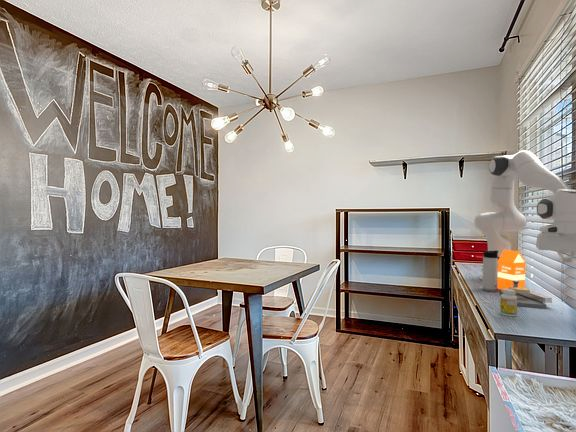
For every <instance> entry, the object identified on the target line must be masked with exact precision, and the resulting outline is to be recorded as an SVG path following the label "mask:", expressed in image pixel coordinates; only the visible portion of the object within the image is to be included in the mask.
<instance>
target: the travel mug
mask: <svg viewBox="0 0 576 432" xmlns="http://www.w3.org/2000/svg"><path fill="white" fill-rule="evenodd" d="M498 252H499V251H488V250H485V251H483V253H482V255H483V257H482V267H483V271H482V274H483V280H482V290H483V291H485V292H492V293H493V292H494V293H495V292H497V291H498V282H497V268H498Z"/></svg>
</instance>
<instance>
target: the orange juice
mask: <svg viewBox="0 0 576 432" xmlns="http://www.w3.org/2000/svg"><path fill="white" fill-rule="evenodd" d="M512 280H517V281H519V283H518V287H520V288H526V287H525V286H526V261H525V259H524V257H523V255H522V253H521V252H520V251H517V250H512V249H511V250H504V251H503V253H502V254H501V256H500V258H499V260H498V282H497V290H503V289H509V287H511V286H513V282H512Z"/></svg>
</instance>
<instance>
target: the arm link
mask: <svg viewBox="0 0 576 432" xmlns="http://www.w3.org/2000/svg"><path fill="white" fill-rule="evenodd" d="M512 282H513V286H511V287H517V288H520V287H518V283H519V281H517V280H512ZM516 293H518V294H521V295H523V296H526V297H529V298H532V299H535V300H538V301H541V302H543V303H544V304H549V303H551V304H552V303H553V297H550V296H547V295H544V294H541V293H537V292H534V291H531V290H530V293H528V292H516Z"/></svg>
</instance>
